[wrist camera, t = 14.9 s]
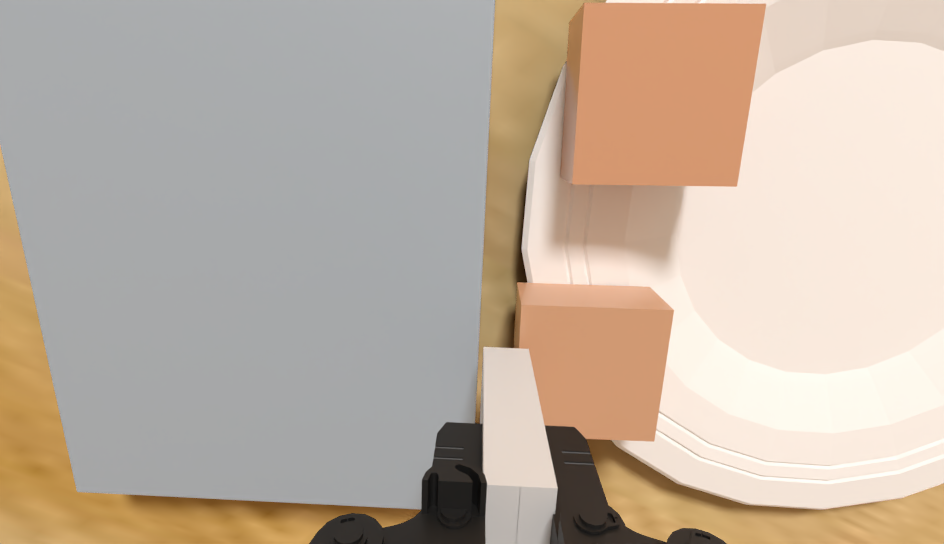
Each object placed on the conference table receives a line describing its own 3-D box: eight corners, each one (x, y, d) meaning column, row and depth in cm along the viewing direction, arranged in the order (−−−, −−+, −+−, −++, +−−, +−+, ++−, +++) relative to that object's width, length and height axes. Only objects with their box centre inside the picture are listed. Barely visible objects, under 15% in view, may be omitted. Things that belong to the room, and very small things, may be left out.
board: (129, 445, 23) (76, 491, 20) (15, -183, 16) (-88, -253, 13) (472, 463, 22) (470, 511, 19) (501, -166, 16) (506, -234, 13)
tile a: (559, 177, 17) (572, 184, 15) (569, 22, 16) (584, 2, 13) (701, 179, 17) (736, 186, 15) (723, 23, 16) (766, 3, 13)
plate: (1077, 471, 22) (1130, 501, 20) (530, 494, 23) (533, 524, 21) (1289, -197, 15) (1397, -242, 14) (501, -121, 16) (503, -153, 15)
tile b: (510, 398, 20) (514, 436, 17) (517, 282, 18) (521, 304, 16) (634, 403, 20) (654, 441, 17) (649, 286, 18) (674, 310, 16)
